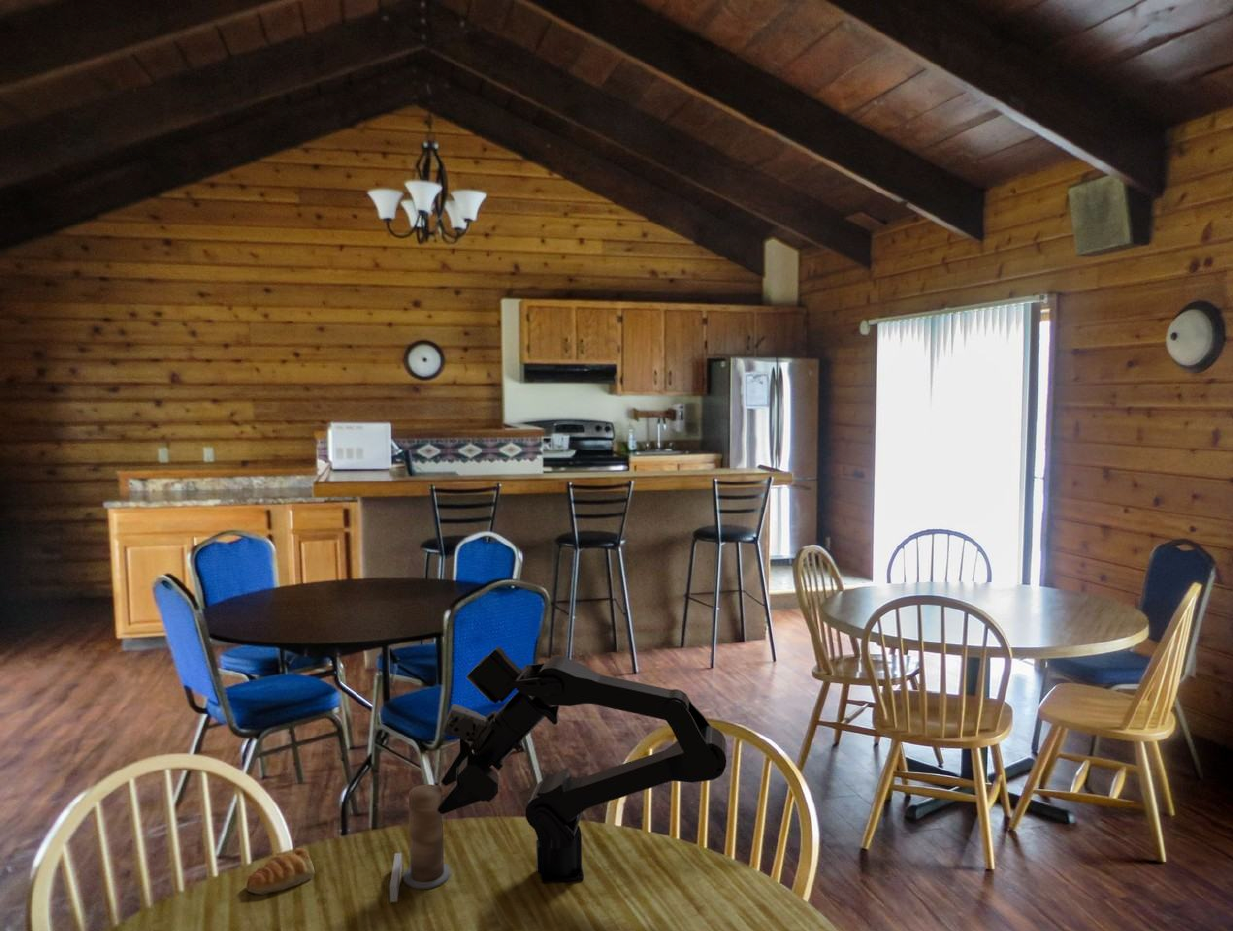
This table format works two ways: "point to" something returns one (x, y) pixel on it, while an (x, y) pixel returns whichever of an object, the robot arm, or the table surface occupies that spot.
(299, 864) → the pastry
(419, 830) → the walnut post
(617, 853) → the table surface
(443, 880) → the slate mat
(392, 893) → the acrylic wall
